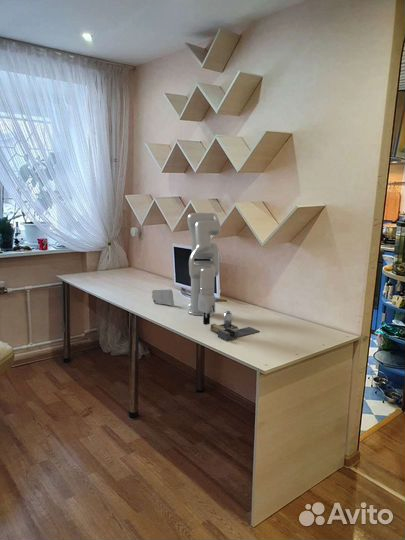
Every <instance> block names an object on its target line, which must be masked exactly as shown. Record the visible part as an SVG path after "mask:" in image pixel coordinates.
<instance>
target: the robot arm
mask: <svg viewBox="0 0 405 540" xmlns="http://www.w3.org/2000/svg"><path fill="white" fill-rule="evenodd" d="M186 223H187V227H188V229H189V232H190V236H191V254H190V255H189V259H188V273H189V277H190V303H189V304H188V305H187V306H188V307H189V309H188V310H187V312H188V314H190V315H192V316H202V317H203V319H202V320H203V322H202V323H203V325H204V326H208V325H211V317H213V316H214V315H215V314H214V313H215V312H216V298H215V297H216V296H215V277H217V276H218V275H219V274H220V260H219V259H220V255H219V254H220V253H219V247H218V245H217V243H215V242H212V241H211V238H212V237H211V236H219V235H220V233H221V231H222V230H221V223H220V219H219V217H218V215H217V214H216V213H214V212H192V213H189V214H188V215H187V222H186ZM195 259H198V260H195ZM205 259H207V260H205Z"/></svg>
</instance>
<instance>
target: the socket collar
mask: <svg viewBox="0 0 405 540" xmlns="http://www.w3.org/2000/svg"><path fill="white" fill-rule="evenodd" d="M217 325H218V326H220V327H223V328H225V327H224V323H221V324H217ZM230 328H232V329H234V330H236V329H238V326H237V325H235V324H232V323H231V327H230ZM225 329H226V328H225Z"/></svg>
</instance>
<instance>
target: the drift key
mask: <svg viewBox="0 0 405 540" xmlns="http://www.w3.org/2000/svg"><path fill="white" fill-rule="evenodd" d="M218 325H219V324H216V323H212V324H211V323H210V328H209V329H210V330H211V331H214V332H215V333H216V332H217V333H218V330H219V329H222V330H224V331H226V329H225V328H223V327H224V326H223V327H220V326H218Z"/></svg>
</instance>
